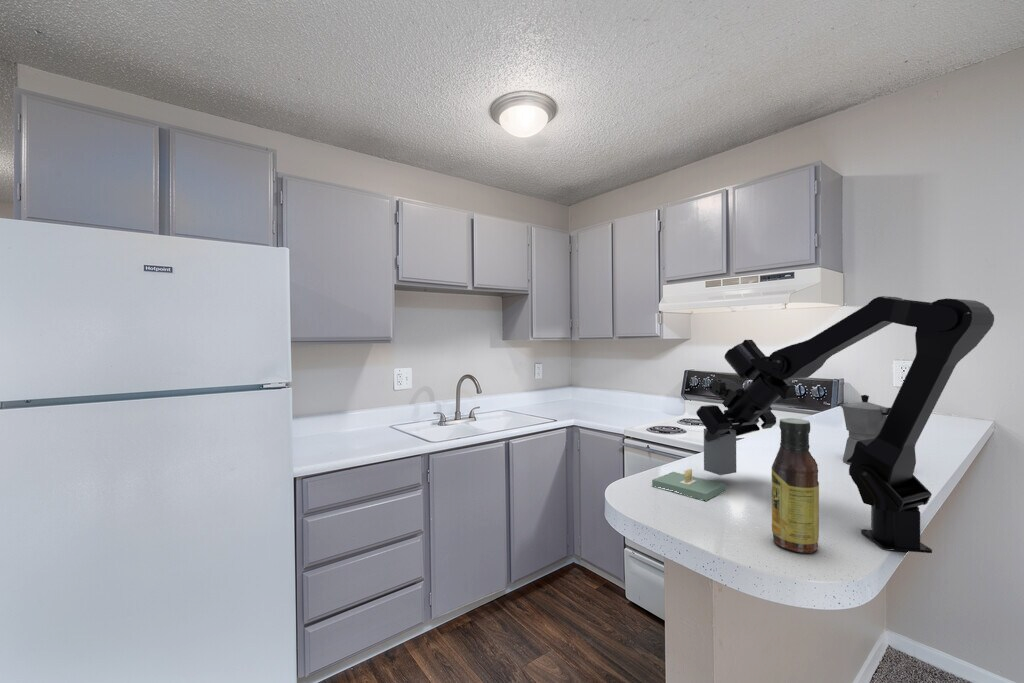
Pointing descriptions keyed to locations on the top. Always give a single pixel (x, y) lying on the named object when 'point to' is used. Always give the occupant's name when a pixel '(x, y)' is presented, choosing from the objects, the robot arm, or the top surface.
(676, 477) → the header board
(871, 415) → the coffeepot
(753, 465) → the top surface
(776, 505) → the sauce bottle
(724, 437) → the plug block
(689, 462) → the top surface
